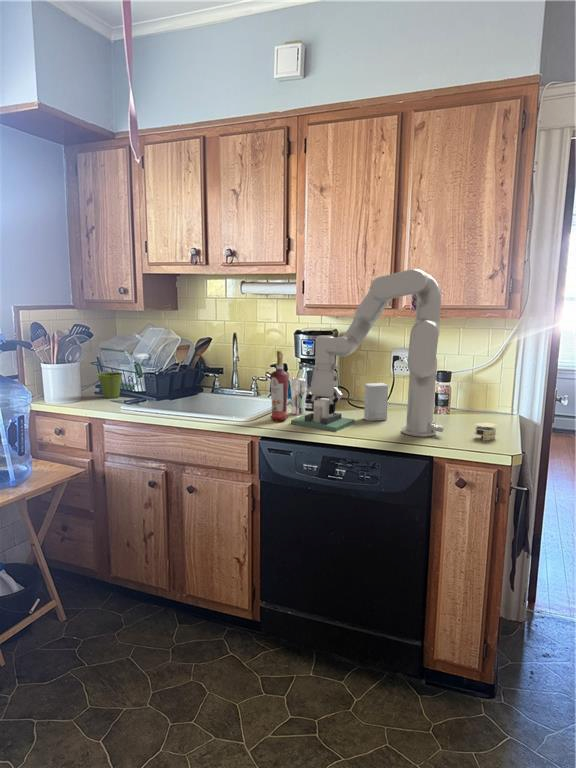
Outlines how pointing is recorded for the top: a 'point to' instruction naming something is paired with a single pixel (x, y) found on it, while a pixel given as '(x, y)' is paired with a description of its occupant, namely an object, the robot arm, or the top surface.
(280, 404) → the liquor
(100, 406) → the top surface
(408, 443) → the top surface
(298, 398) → the beer glass
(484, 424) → the stacked layers on plate
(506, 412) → the top surface
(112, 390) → the plant pot
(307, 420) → the socket board
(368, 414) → the skincare box
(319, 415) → the keyed plug
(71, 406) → the top surface
